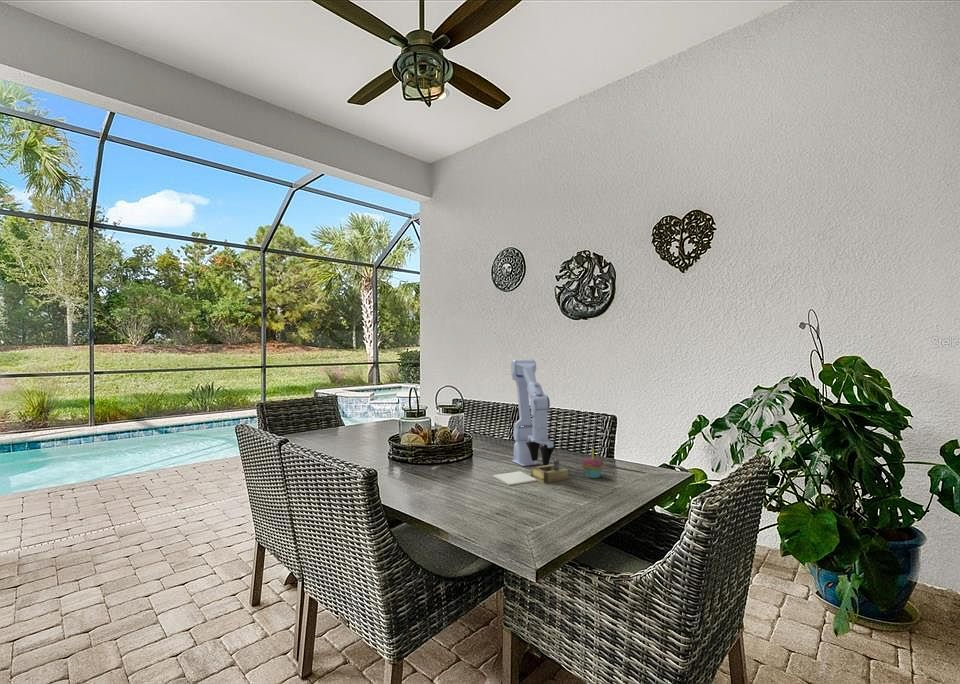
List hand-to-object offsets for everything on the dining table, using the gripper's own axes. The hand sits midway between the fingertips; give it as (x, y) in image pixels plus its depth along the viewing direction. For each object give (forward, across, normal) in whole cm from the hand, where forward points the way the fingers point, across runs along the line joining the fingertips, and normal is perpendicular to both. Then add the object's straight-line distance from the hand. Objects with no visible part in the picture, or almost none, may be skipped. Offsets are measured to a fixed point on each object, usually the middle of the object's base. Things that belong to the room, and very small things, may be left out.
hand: (540, 462), depth 177 cm
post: (+5, +3, +5) cm, 8 cm away
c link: (+5, +3, +2) cm, 6 cm away
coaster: (+5, -1, -11) cm, 12 cm away
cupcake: (+5, +9, +18) cm, 21 cm away
